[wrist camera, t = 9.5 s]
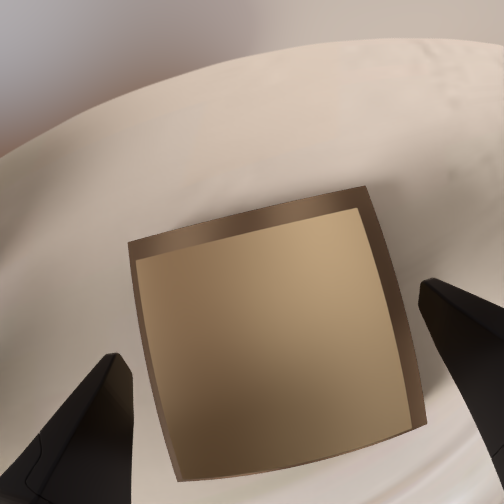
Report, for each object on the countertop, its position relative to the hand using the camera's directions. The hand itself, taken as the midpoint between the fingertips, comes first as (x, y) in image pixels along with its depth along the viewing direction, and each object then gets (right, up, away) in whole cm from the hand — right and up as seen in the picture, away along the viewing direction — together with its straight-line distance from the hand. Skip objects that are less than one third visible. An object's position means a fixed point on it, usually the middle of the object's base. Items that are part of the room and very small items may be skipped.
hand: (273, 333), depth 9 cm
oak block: (+1, -2, +7) cm, 8 cm away
